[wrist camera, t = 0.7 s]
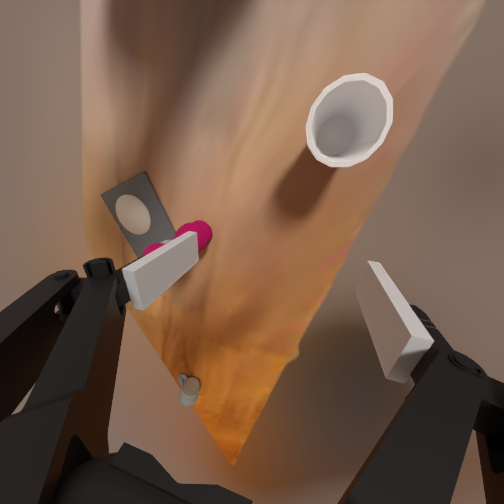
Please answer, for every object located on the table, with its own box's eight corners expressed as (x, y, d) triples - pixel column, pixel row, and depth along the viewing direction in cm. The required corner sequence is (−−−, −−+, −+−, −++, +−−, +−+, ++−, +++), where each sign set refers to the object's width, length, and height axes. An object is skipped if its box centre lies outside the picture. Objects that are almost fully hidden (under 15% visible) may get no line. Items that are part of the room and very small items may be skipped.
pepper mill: (215, 246, 50) (165, 291, 33) (191, 243, 52) (130, 284, 34) (213, 219, 47) (156, 252, 30) (187, 217, 49) (118, 247, 31)
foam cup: (364, 159, 34) (391, 157, 23) (310, 171, 37) (311, 175, 26) (363, 95, 31) (394, 56, 20) (304, 115, 34) (301, 91, 23)
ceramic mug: (204, 379, 78) (193, 400, 71) (201, 390, 82) (191, 410, 75) (181, 368, 79) (169, 387, 73) (179, 379, 83) (168, 398, 76)
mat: (102, 194, 53) (99, 194, 52) (145, 171, 47) (143, 171, 46) (140, 258, 59) (138, 259, 59) (182, 245, 53) (180, 246, 52)
